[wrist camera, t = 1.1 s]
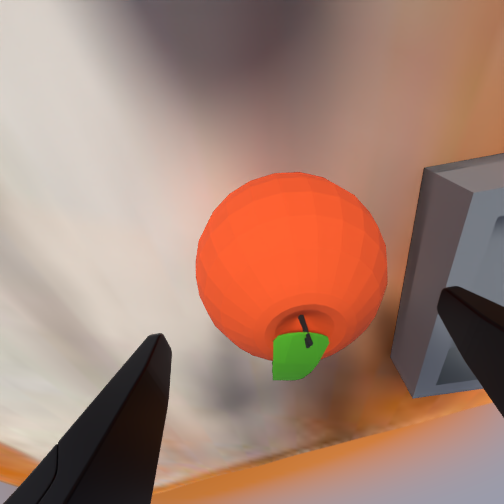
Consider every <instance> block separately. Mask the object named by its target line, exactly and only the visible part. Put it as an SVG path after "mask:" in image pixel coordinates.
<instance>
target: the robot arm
mask: <svg viewBox="0 0 504 504" xmlns="http://www.w3.org/2000/svg"><path fill="white" fill-rule="evenodd" d="M437 312H438V314H439V316H440V318H441V320H442V322H443V323H444V325H445V327H446V329H447V331H448V332H449V334H450V336H451V338H452V340H453V342H454V343H455V345H456V347H457V349H458V351H459V352H460V354H461V356H462V357H463V359H464V361H465V362H466V364H467V365H468V367H469V368H470V369H471V371H472V372H473V374H474V375H475V377H476V378H477V380H478V381H479V383H480V384H481V385H482V387H483V388H484V390H485V391H486V393H487V394H488V396H489V397H490V398H491V400H492V401H493V403H494V404H495V405H496V407H497V409H498V410H499V411H500V413H501V414H502V416H503V417H504V306H501V305H499V304H497V303H495V302H493V301H490V300H488V299H486V298H484V297H482V296H479V295H477V294H475V293H473V292H471V291H468V290H466V289H464V288H462V287H459V286H451V287H445V288H443V289H442V290H441V293H440V296H439V300H438V303H437ZM171 359H172V351H171V348H170V346H169V344H168V342H167V340H166V338H165V337H164V335H163V334H162V333H158V334H152V335H149V336H148V337H147V338H146V339H145V340H144V342H143V343H142V344H141V345H140V346H139V348H138V349H137V350H136V351H135V352H134V353H133V355H132V356H131V357H130V358H129V359H128V360H127V362H126V363H125V364H124V365H123V366H122V368H121V369H120V370H119V371H118V372H117V373H116V375H115V376H114V377H113V378H112V379H111V380H110V382H109V383H108V384H107V385H106V386H105V387H104V389H103V390H102V391H101V392H100V393H99V395H98V396H97V397H96V398H95V399H94V400H93V402H92V403H91V404H90V405H89V406H88V407H87V409H86V410H85V411H84V412H83V413H82V415H81V416H80V417H79V418H78V419H77V420H76V422H75V423H74V424H73V425H72V426H71V427H70V429H69V430H68V431H67V432H66V433H65V435H64V436H63V437H62V438H61V439H60V440H59V442H58V444H56V445H55V446H54V447H53V448H52V450H51V451H50V452H49V453H48V454H47V456H46V457H45V458H44V459H43V460H42V461H41V462H40V464H39V465H38V466H37V467H36V468H35V469H34V470H33V472H32V473H31V474H30V475H29V476H28V477H27V478H26V480H25V481H24V482H23V483H22V484H21V485H20V486H19V487H18V488H17V490H16V491H15V492H14V493H13V494H12V495H11V496H10V497H9V498H8V499H7V500H6V501H5V502H4V503H3V504H150V503H151V497H152V492H153V486H154V481H155V475H156V469H157V464H158V458H159V452H160V447H161V441H162V436H163V430H164V424H165V419H166V413H167V407H168V400H169V388H170V374H171Z"/></svg>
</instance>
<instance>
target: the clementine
mask: <svg viewBox="0 0 504 504" xmlns="http://www.w3.org/2000/svg"><path fill="white" fill-rule="evenodd" d="M196 279H197V285H198V290H199V295H200V298H201V300H202V302H203V304H204V306H205V308H206V310H207V312H208V314H209V316H210V318H211V319H212V321H213V323H214V325H215V326H216V327H217V328H218V329H219V330H220V331H221V332H222V333H223V334H224V335H225V336H226V337H227V338H229V339H230V340H231V341H232V342H233V343H234V344H235V345H237V346H238V347H239V348H240V349H242V350H244V351H246V352H248V353H250V354H251V355H253V356H257V357H260V358H264V359H267V360H271V361H272V364H273V368H272V373H273V380H298V379H302V378H304V377H305V376H307V375H308V374H309V373H311V371H312V370H313V369H314V368H315V367H316V366H317V364H318V363H319V361H320V359H323V358H326V357H328V356H331V355H333V354H335V353H336V352H338V351H340V350H341V349H343V348H345V347H346V346H347V345H349V344H350V343H352V342H353V341H354V340H355V339H356V338H358V337H359V336H360V335H361V334H362V333H363V332H364V331H365V330H366V329H367V328H368V326H369V325H370V323H371V322H372V320H373V319H374V317H375V316H376V313H377V311H378V309H379V306H380V304H381V301H382V298H383V295H384V292H385V289H386V286H387V258H386V245H385V243H384V241H383V238H382V236H381V233H380V231H379V228H378V226H377V224H376V222H375V221H374V219H373V217H372V215H371V214H370V212H369V211H368V210H367V209H366V208H365V207H364V205H363V204H362V203H361V202H360V201H359V200H358V199H357V198H356V197H355V195H353V194H351V193H350V192H348V191H346V190H345V189H343V188H341V187H339V186H337V185H336V184H334V183H332V182H330V181H329V180H327V179H325V178H323V177H319V176H314V175H310V174H305V173H301V172H294V173H274V174H271V175H268V176H265V177H261V178H258V179H255V180H252V181H249V182H248V183H246V184H245V185H243V186H241V187H240V188H238V189H237V190H235V191H233V192H232V193H230V194H229V195H228V196H227V197H226V198H225V199H224V200H223V201H222V202H221V204H220V205H219V206H218V207H217V208H216V209H215V210H214V211H213V213H212V215H211V217H210V219H209V221H208V223H207V225H206V227H205V229H204V231H203V233H202V235H201V237H200V239H199V243H198V249H197V256H196Z"/></svg>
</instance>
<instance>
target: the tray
mask: <svg viewBox="0 0 504 504" xmlns="http://www.w3.org/2000/svg"><path fill="white" fill-rule="evenodd" d="M451 286H459V287H462V288H464V289H466V290H468V291H471V292H473V293H475V294H477V295H479V296H482V297H484V298H486V299H488V300H490V301H493V302H495V303H497V304H499V305H501V306H504V153H502V154H496V155H491V156H485V157H480V158H475V159H469V160H464V161H459V162H453V163H448V164H442V165H437V166H432V167H426V168H424V173H423V178H422V184H421V189H420V195H419V201H418V206H417V212H416V217H415V223H414V228H413V234H412V240H411V245H410V251H409V256H408V262H407V267H406V273H405V279H404V284H403V290H402V295H401V301H400V306H399V312H398V318H397V323H396V329H395V334H394V340H393V345H392V351H391V356H390V357H391V359H392V361H393V363H394V365H395V367H396V369H397V370H398V372H399V374H400V376H401V378H402V380H403V381H404V383H405V385H406V387H407V389H408V391H409V392H410V394H411V396H412V398H419V397H426V396H433V395H440V394H448V393H455V392H462V391H469V390H476V389H483V387H482V385H481V384H480V383H479V381H478V380H477V378H476V377H475V375H474V374H473V372H472V371H471V369H470V368H469V367H468V365H467V364H466V362H465V361H464V359H463V357H462V356H461V354H460V352H459V351H458V349H457V347H456V345H455V343H454V342H453V340H452V338H451V336H450V334H449V332H448V331H447V329H446V327H445V325H444V323H443V322H442V320H441V318H440V316H439V314H438V312H437V303H438V300H439V296H440V293H441V290H442V289H443V288H445V287H451Z"/></svg>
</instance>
